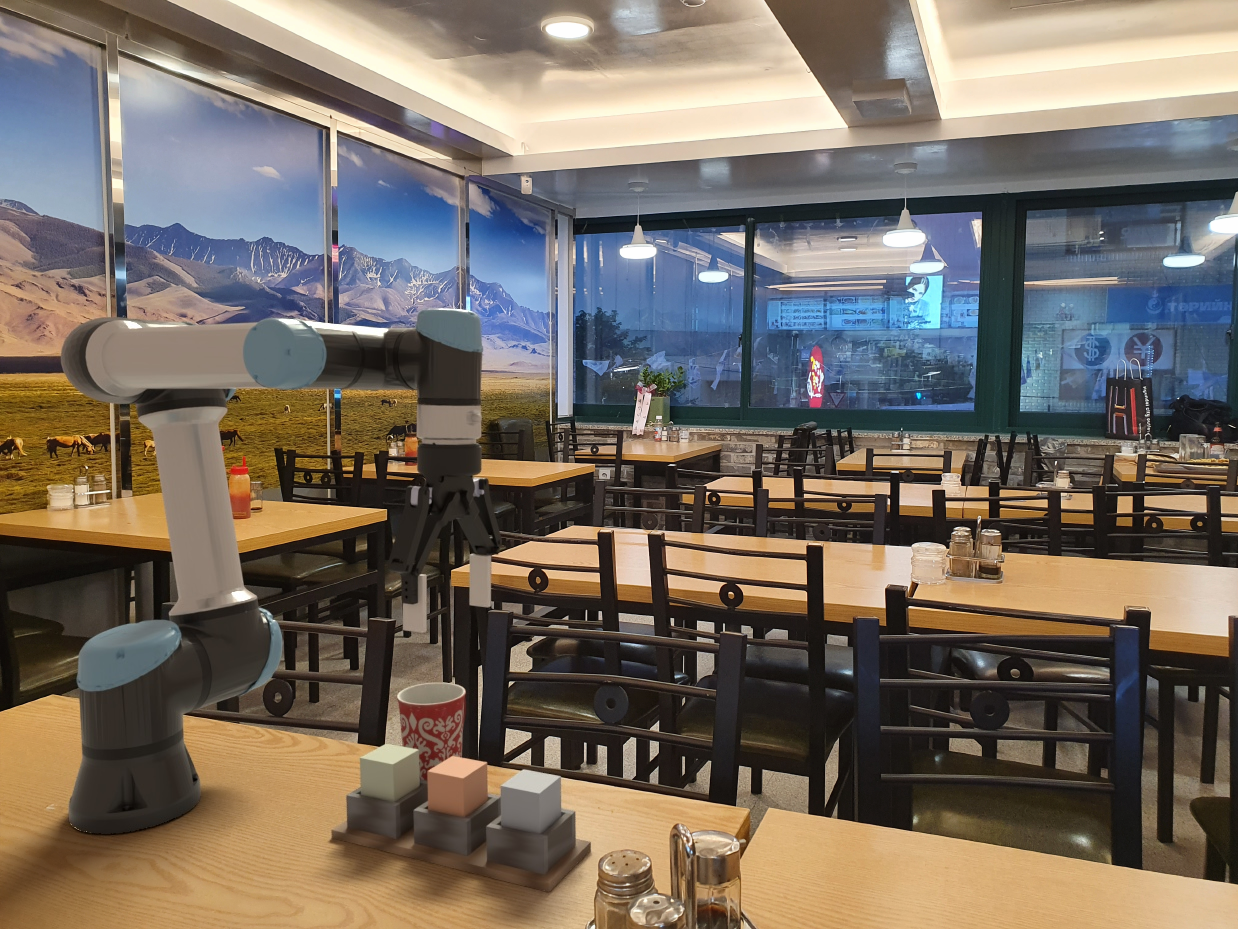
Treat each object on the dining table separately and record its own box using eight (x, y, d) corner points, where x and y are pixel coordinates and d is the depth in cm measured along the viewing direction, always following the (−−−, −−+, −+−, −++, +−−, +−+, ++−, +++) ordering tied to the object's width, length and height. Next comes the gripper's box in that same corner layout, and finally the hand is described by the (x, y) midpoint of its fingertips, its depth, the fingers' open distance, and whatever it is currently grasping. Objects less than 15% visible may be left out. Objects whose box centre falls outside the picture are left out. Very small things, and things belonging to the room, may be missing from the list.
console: (331, 837, 110) (330, 797, 109) (385, 804, 119) (384, 767, 118) (549, 892, 97) (548, 847, 97) (590, 850, 106) (590, 808, 106)
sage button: (361, 805, 111) (359, 757, 110) (387, 789, 115) (386, 743, 115) (394, 813, 108) (392, 764, 108) (419, 796, 113) (418, 749, 113)
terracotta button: (428, 821, 106) (427, 771, 106) (453, 803, 111) (452, 756, 110) (464, 829, 104) (463, 778, 104) (488, 811, 109) (487, 762, 108)
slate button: (501, 837, 102) (500, 785, 102) (524, 819, 107) (523, 769, 106) (540, 846, 100) (539, 793, 100) (561, 827, 105) (560, 776, 104)
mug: (444, 809, 117) (442, 707, 116) (385, 798, 120) (383, 699, 119) (492, 772, 129) (490, 678, 128) (437, 763, 132) (435, 672, 131)
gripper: (410, 448, 95) (411, 647, 96) (529, 438, 117) (528, 599, 119) (353, 445, 98) (354, 638, 99) (480, 436, 120) (479, 593, 122)
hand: (449, 617), depth 109 cm, fingers open, 13 cm apart
